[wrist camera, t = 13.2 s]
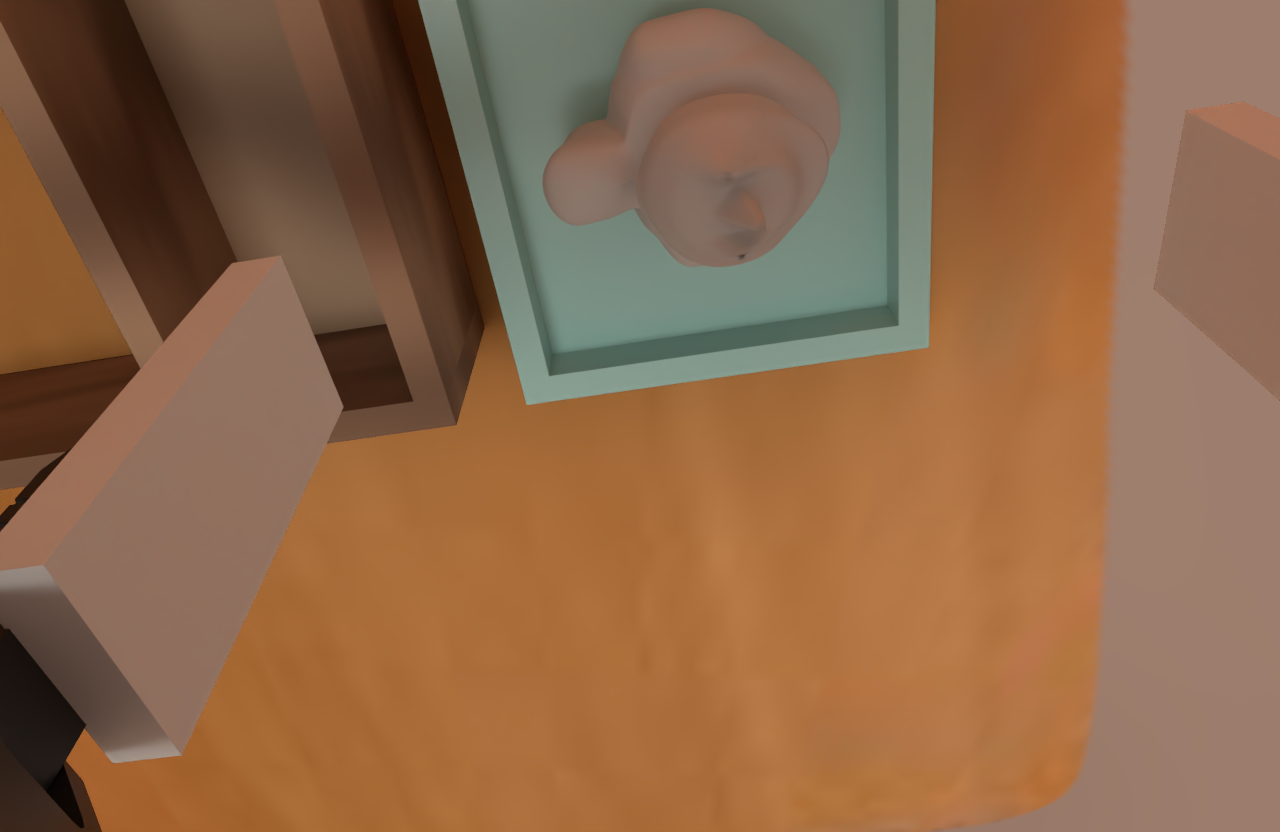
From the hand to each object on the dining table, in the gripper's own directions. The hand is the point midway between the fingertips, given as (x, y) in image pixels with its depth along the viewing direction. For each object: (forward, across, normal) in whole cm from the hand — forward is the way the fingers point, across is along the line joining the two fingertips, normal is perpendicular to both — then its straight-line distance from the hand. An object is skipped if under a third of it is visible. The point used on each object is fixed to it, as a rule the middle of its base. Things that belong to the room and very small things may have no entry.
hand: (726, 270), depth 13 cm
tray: (+10, 0, -1) cm, 10 cm away
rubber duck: (+10, 0, 0) cm, 10 cm away
